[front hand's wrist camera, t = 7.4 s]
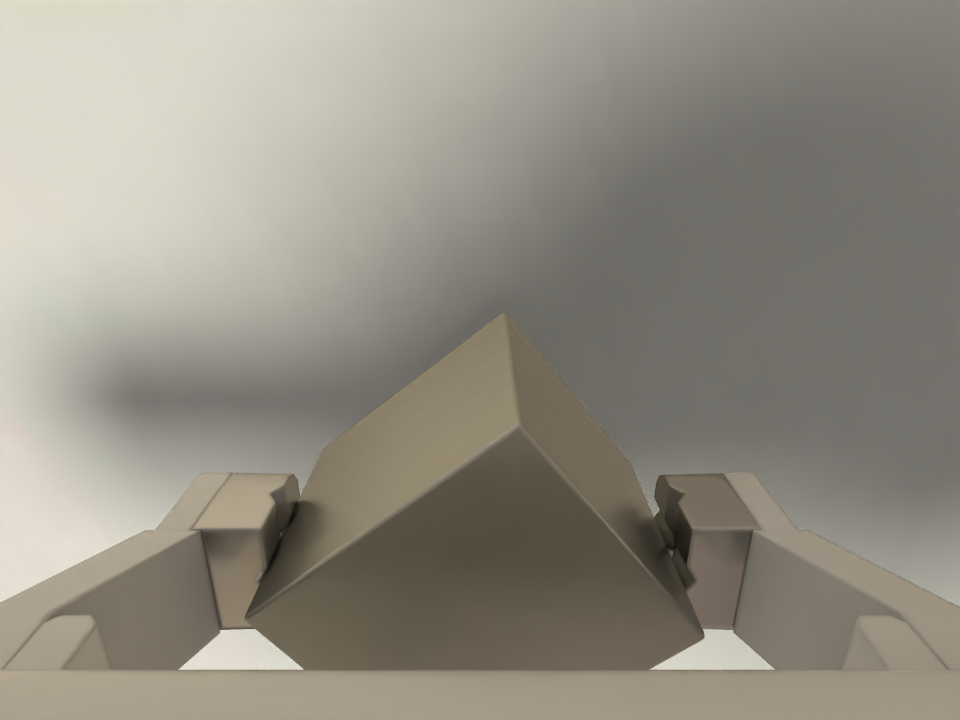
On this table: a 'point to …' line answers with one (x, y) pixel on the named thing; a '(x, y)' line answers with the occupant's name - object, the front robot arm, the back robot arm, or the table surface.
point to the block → (475, 534)
